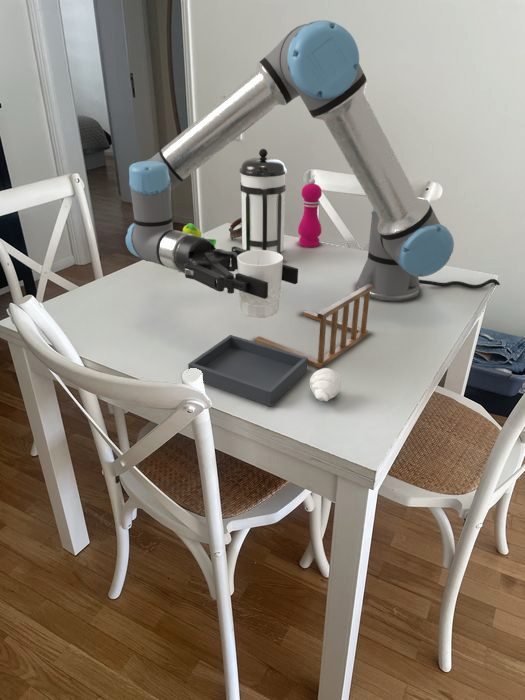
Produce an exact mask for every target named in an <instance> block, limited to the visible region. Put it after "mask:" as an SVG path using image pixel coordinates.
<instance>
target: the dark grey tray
mask: <svg viewBox="0 0 525 700" xmlns="http://www.w3.org/2000/svg"><path fill="white" fill-rule="evenodd" d="M308 365H309V364H308V358H307V357H304V356H300V355H297V354H293V353H290V352H287V351H283V350H280V349H277V348H273V347H270V346H266V345H263V344H260V343H256V342H255V341H254V340H249V339H247V338H243V337H239V336H235V335H233V334H229V335H228V336H226V337H225V338H224V339H222V340H220V341H219V342H218V343H216V344H215V345H213V346H212V347H210V348H209V349H207V350H206V351H205V352H204V353H201V354H200V355H198V357H196V358H194V359H193V360H192V361H190V362H189V363H187V368H188V369H190V368H197V369H199V370H201V371H202V373H203V381H204V383H203V384H206V385H209V386H211V387H214V388H217V389H220V390H222V391H225V392H228V393H231V394H234V395H237V396H239V397H242V398H245V399H247V400H251V401H253V402H255V403H259V404H261V405H265V406H267V407H272V406H273V405H275V403H276V402H277V401H278V400H279V399H280V398H282V397H283V396H284V395H285V394H286V393H287V392H288V391H289V390H290V389H291V388H292V387H293V386H294V385H295V384H296V383H297V382H299V380H300V379H302V378H303V376H305V374H306V373H307V372H308V367H309V366H308Z"/></svg>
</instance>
